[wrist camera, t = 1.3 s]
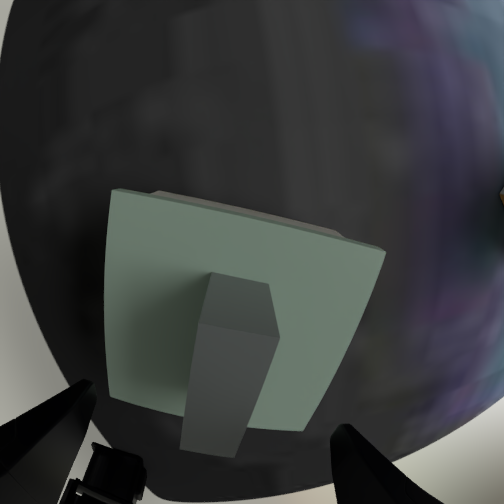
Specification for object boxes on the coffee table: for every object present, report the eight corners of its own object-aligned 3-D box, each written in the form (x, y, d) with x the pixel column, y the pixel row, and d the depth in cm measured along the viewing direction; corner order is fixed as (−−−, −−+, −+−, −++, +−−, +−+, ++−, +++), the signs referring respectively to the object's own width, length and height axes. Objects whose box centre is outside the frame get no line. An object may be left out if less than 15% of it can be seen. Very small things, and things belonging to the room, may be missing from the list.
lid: (118, 378, 16) (88, 444, 10) (128, 186, 12) (57, 204, 7) (298, 411, 17) (313, 481, 11) (370, 241, 13) (437, 288, 8)
